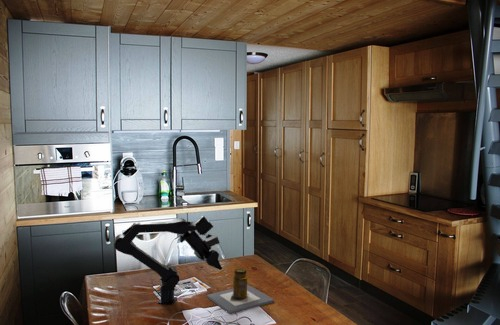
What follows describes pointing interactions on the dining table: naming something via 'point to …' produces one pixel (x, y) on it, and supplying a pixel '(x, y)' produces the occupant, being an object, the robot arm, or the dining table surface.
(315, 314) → the dining table surface
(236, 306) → the grey square board
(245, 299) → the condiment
